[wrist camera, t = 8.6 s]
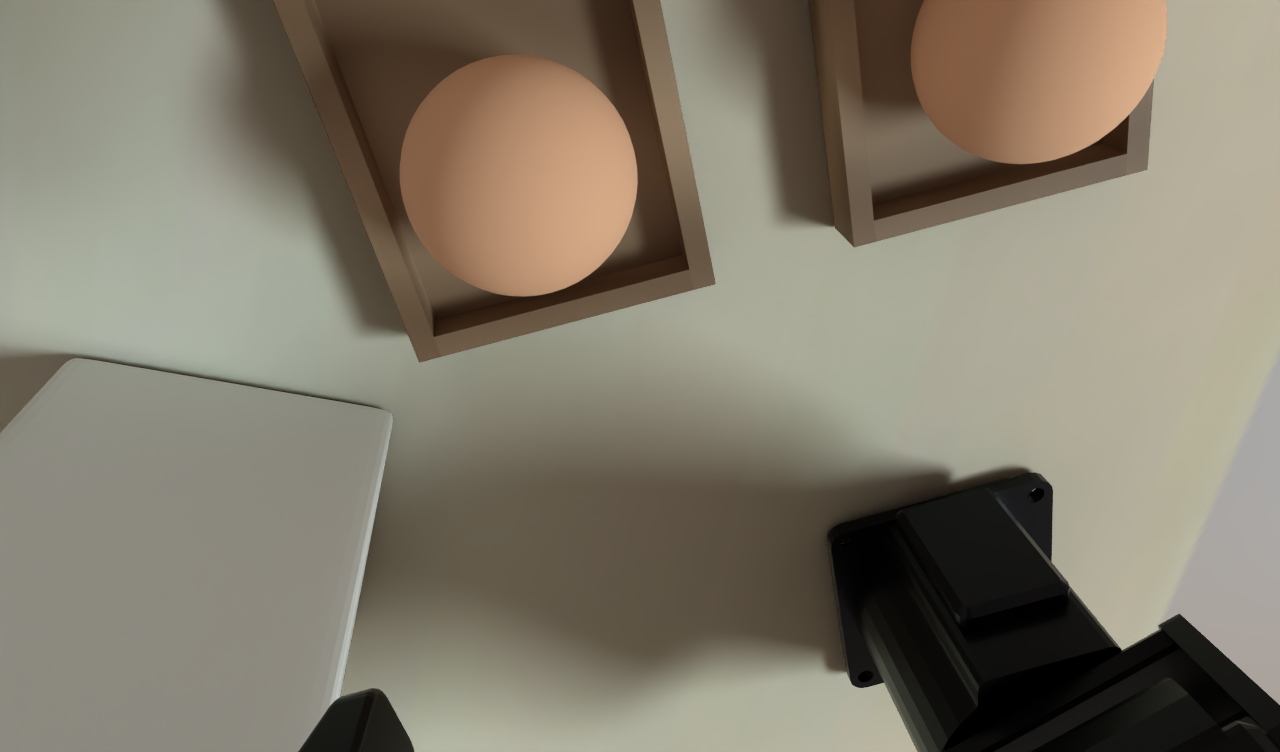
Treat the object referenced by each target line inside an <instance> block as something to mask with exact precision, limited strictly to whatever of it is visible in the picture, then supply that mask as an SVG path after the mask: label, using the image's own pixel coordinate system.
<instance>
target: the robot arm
mask: <svg viewBox="0 0 1280 752" xmlns="http://www.w3.org/2000/svg"><path fill="white" fill-rule="evenodd" d="M1035 488H1036V489H1035ZM1033 489H1035V490H1034V491H1033V492H1032V493H1030V494H1028V493H1029V492H1030V491H1031V490H1033ZM1052 506H1053V489H1052V486H1051V485H1050V484H1049V482H1048V481H1047V480H1046V479H1045V478H1044V477H1043V476H1042V475H1041V474H1038V473H1028V474H1024V475H1020V476H1017V477H1013V478H1009V479H1005V480H1002V481H998V482H994V483H991V484H987V485H983V486H979V487H976V488H972V489H968V490H964V491H961V492H957V493H953V494H950V495H946V496H942V497H938V498H935V499H931V500H927V501H923V502H920V503H916V504H912V505H909V506H905V507H901V508H897V509H894V510H890V511H886V512H882V513H879V514H875V515H871V516H868V517H864V518H860V519H856V520H853V521H849V522H845V523H841V524H839V525H837V526H835V527H834V528H833V529H831V530H830V532H829V533H828V535H827V548H828V554H829V561H830V568H831V574H832V581H833V587H834V594H835V601H836V607H837V614H838V621H839V627H840V634H841V641H842V647H843V654H844V661H845V667H846V672H847V674H848V676H849V679H850V681H851V683H852V685H854V686H855V687H859V688H864V687H869V686H873V685H877V684H880V683H885V685H886V687H887V689H888V691H889V693H890V696H891V698H892V700H893V702H894V704H895V706H896V708H897V710H898V712H899V714H900V716H901V718H902V720H903V722H904V724H905V727H906V729H907V731H908V733H909V735H910V737H911V739H912V741H913V743H914V745H915V747H916V749H917V751H918V752H1280V705H1279V704H1278V703H1277V702H1276V701H1274V700H1273V699H1272V698H1271V697H1270V696H1269V695H1268V694H1267V693H1266V692H1265V691H1263V690H1262V689H1261V688H1260V687H1259V686H1258V685H1257V684H1256V683H1255V682H1254V681H1253V680H1251V679H1250V678H1249V677H1248V676H1247V675H1246V674H1245V673H1244V672H1242V670H1240V669H1239V668H1238V667H1237V666H1236V665H1235V664H1234V663H1233V662H1232V661H1230V659H1228V658H1227V657H1226V656H1225V655H1224V654H1223V653H1222V652H1221V651H1220V650H1219V649H1218V648H1216V647H1215V646H1214V645H1213V644H1212V643H1211V642H1210V641H1209V640H1208V639H1206V638H1205V637H1204V636H1203V635H1202V634H1201V633H1200V632H1199V631H1198V630H1197V629H1196V628H1195V627H1193V626H1192V625H1191V624H1190V623H1189V622H1188V621H1187V620H1186V619H1185V618H1183V617H1182V616H1181V615H1180V614H1178V615H1176V616H1174V617H1172V618H1171V619H1169V620H1167V621H1165V622H1163V623H1162V624H1160V625H1158V627H1159V629H1160V630H1158V631H1156V632H1154V633H1152V634H1151V635H1149V636H1147V637H1145V638H1144V639H1142V640H1140V641H1138V642H1136V643H1135V644H1133V645H1131V646H1129V647H1128V648H1126V649H1124V650H1121V648H1120V647H1119V646H1118V645H1117V643H1116V642H1115V641H1114V640H1113V639H1112V637H1111V636H1110V635H1109V634H1108V632H1107V631H1106V630H1105V629H1104V628H1103V626H1102V625H1101V624H1100V623H1099V621H1098V620H1097V619H1096V618H1095V617H1094V615H1093V614H1092V613H1091V612H1090V610H1089V609H1088V608H1087V607H1086V606H1085V604H1084V603H1083V602H1082V601H1081V599H1080V598H1079V597H1078V596H1077V595H1076V593H1075V592H1074V591H1073V590H1072V588H1071V587H1070V586H1069V584H1068V582H1067V581H1066V579H1065V578H1064V577H1063V576H1062V575H1061V573H1060V572H1059V571H1058V570H1057V568H1056V567H1055V566H1054V565H1053V564H1052V562H1051V556H1052ZM846 539H850V540H849V541H848V542H846V543H844V544H841V543H842V541H844V540H846ZM298 752H414V748H413V745H412V742H411V740H410V738H409V736H408V735H407V733H406V731H405V729H404V727H403V725H402V724H401V722H400V720H399V718H398V716H397V715H396V713H395V711H394V709H393V707H392V705H391V704H390V702H389V700H388V698H387V697H386V695H385V694H384V693H383V692H382V691H381V690H379V689H374V688H372V689H368V690H364V691H360V692H357V693H353V694H349V695H346V696H342V697H340V698H338V699H336V700H335V701H334V702H333V703H332V704H331V705H330V706H329V708H328V709H327V711H326V712H325V714H324V715H323V716H322V718H321V719H320V721H319V722H318V724H317V725H316V726H315V728H314V729H313V731H312V732H311V734H310V735H309V737H308V738H307V739H306V741H305V742H304V744H303V745H302V747H301V748H300V749H299V751H298Z"/></svg>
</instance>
